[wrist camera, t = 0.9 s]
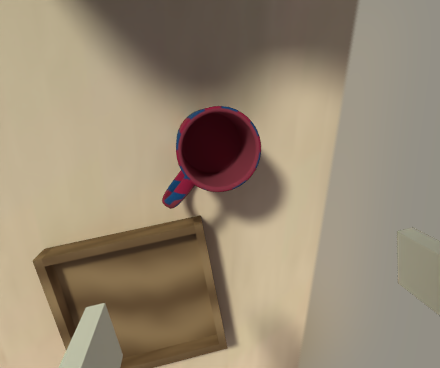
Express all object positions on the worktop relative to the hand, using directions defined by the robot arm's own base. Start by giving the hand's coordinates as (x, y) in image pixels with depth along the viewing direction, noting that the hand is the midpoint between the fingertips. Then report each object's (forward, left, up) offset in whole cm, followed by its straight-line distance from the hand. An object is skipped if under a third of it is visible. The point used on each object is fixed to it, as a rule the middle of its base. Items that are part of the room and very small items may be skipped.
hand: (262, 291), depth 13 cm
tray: (+10, -10, -18) cm, 23 cm away
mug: (-4, -1, -18) cm, 19 cm away
